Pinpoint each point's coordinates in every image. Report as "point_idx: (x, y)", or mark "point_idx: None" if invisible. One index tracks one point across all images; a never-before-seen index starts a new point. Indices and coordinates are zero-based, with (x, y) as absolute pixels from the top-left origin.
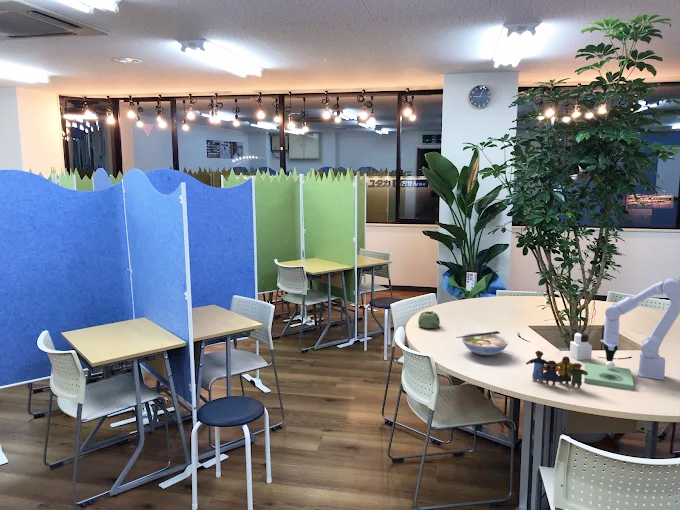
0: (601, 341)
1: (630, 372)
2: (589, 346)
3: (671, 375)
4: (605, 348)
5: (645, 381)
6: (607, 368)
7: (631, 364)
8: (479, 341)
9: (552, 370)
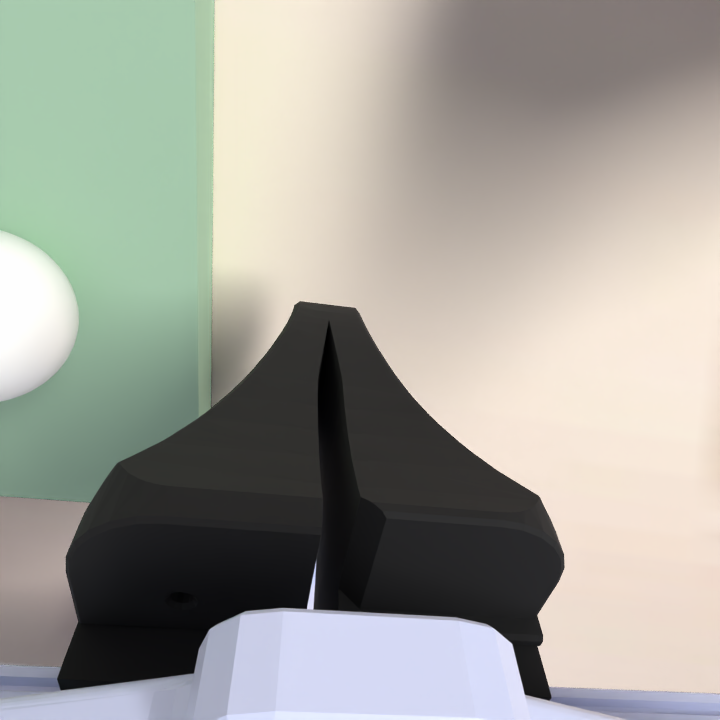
0: (203, 686)
1: (45, 496)
2: None
3: None
4: (99, 501)
5: (12, 540)
6: (32, 238)
7: None
8: None
9: None
